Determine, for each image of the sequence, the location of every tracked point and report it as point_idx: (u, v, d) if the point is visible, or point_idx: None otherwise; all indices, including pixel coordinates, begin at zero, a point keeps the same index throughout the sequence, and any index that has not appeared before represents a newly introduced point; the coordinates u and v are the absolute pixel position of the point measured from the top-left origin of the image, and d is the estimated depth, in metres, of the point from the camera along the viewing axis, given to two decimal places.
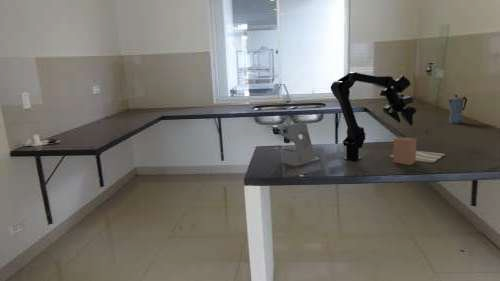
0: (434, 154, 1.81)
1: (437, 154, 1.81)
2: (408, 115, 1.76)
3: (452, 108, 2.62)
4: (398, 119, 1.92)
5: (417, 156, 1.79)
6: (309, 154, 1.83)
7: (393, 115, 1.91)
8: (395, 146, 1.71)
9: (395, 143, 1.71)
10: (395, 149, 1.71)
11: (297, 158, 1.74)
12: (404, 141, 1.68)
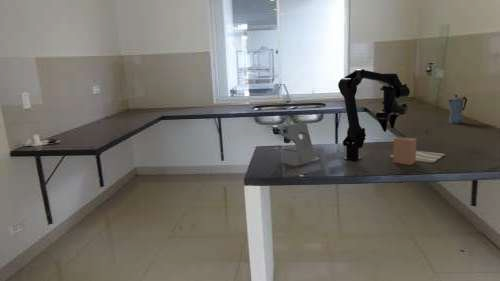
0: (434, 154, 1.81)
1: (437, 154, 1.81)
2: (377, 116, 1.80)
3: (452, 108, 2.62)
4: (392, 125, 1.90)
5: (417, 156, 1.79)
6: (309, 154, 1.83)
7: (390, 118, 1.91)
8: (395, 146, 1.71)
9: (395, 143, 1.71)
10: (395, 149, 1.71)
11: (297, 158, 1.75)
12: (404, 141, 1.68)
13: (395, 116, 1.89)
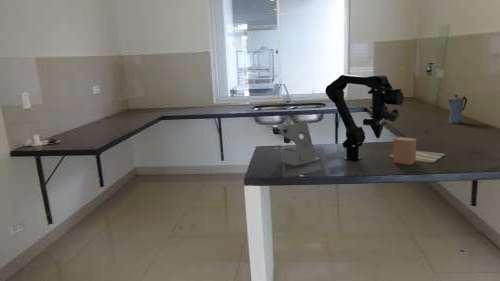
0: (434, 154, 1.81)
1: (437, 154, 1.81)
2: (364, 122, 1.62)
3: (452, 108, 2.62)
4: None
5: (417, 156, 1.79)
6: (309, 154, 1.83)
7: None
8: (395, 146, 1.71)
9: (395, 143, 1.71)
10: (395, 149, 1.71)
11: (297, 158, 1.75)
12: (404, 141, 1.68)
13: None
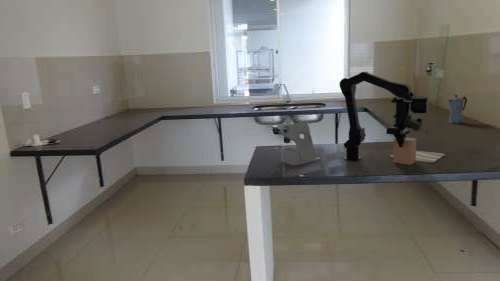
0: (434, 154, 1.81)
1: (437, 154, 1.81)
2: (388, 131, 1.61)
3: (452, 108, 2.62)
4: None
5: (417, 156, 1.79)
6: (310, 154, 1.83)
7: None
8: (395, 146, 1.71)
9: (395, 143, 1.71)
10: (395, 149, 1.71)
11: (296, 157, 1.76)
12: (404, 141, 1.68)
13: None
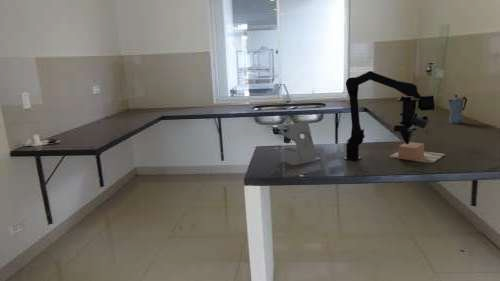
0: (434, 154, 1.81)
1: (437, 154, 1.81)
2: (395, 129, 1.66)
3: (452, 108, 2.62)
4: None
5: None
6: (310, 154, 1.84)
7: None
8: None
9: None
10: (405, 143, 1.80)
11: (296, 157, 1.76)
12: (417, 143, 1.80)
13: None
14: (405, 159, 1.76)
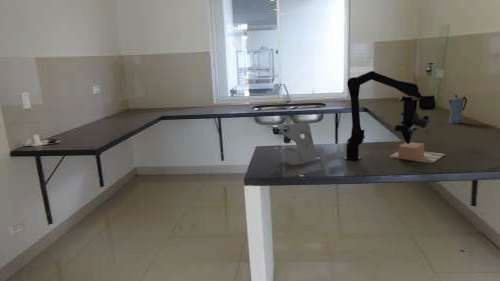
0: (434, 154, 1.81)
1: (437, 154, 1.81)
2: (396, 128, 1.67)
3: (452, 108, 2.62)
4: None
5: None
6: (310, 153, 1.84)
7: None
8: (406, 143, 1.81)
9: None
10: (405, 143, 1.80)
11: (296, 157, 1.76)
12: (417, 143, 1.80)
13: None
14: (405, 159, 1.76)
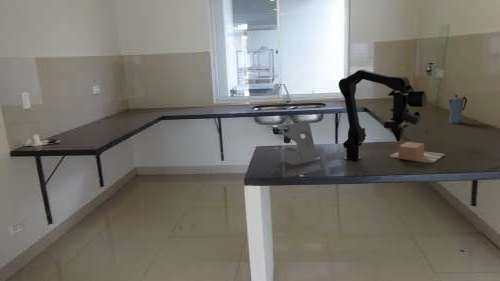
0: (434, 154, 1.81)
1: (437, 154, 1.81)
2: (385, 125, 1.57)
3: (452, 108, 2.62)
4: None
5: None
6: (311, 153, 1.84)
7: None
8: (406, 143, 1.81)
9: (407, 142, 1.82)
10: (405, 143, 1.80)
11: (296, 157, 1.76)
12: (417, 143, 1.80)
13: None
14: (405, 159, 1.76)
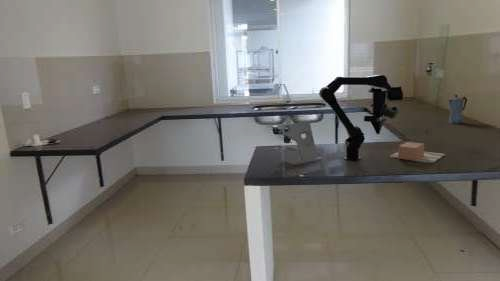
0: (434, 154, 1.81)
1: (437, 154, 1.81)
2: (365, 119, 1.72)
3: (452, 108, 2.62)
4: None
5: None
6: (311, 153, 1.84)
7: None
8: (406, 143, 1.81)
9: (407, 142, 1.82)
10: (405, 143, 1.80)
11: (296, 157, 1.77)
12: (417, 143, 1.80)
13: None
14: (405, 159, 1.76)
